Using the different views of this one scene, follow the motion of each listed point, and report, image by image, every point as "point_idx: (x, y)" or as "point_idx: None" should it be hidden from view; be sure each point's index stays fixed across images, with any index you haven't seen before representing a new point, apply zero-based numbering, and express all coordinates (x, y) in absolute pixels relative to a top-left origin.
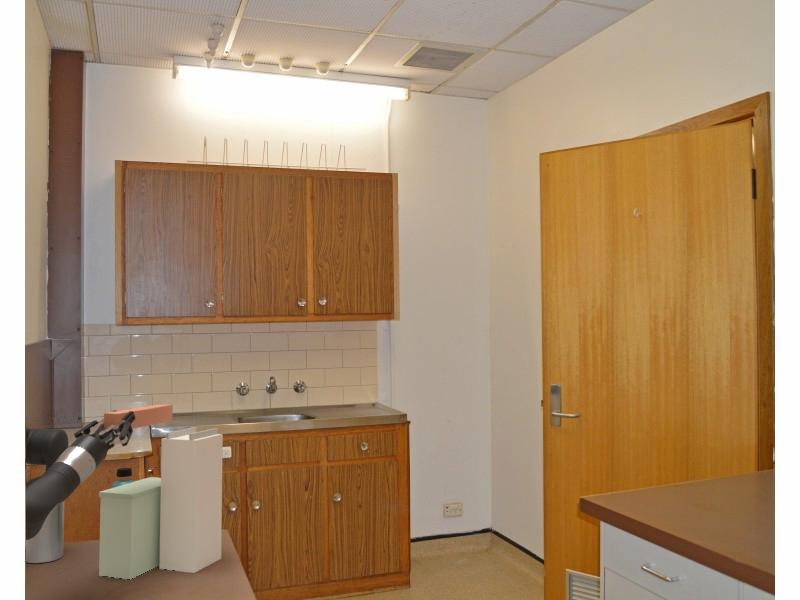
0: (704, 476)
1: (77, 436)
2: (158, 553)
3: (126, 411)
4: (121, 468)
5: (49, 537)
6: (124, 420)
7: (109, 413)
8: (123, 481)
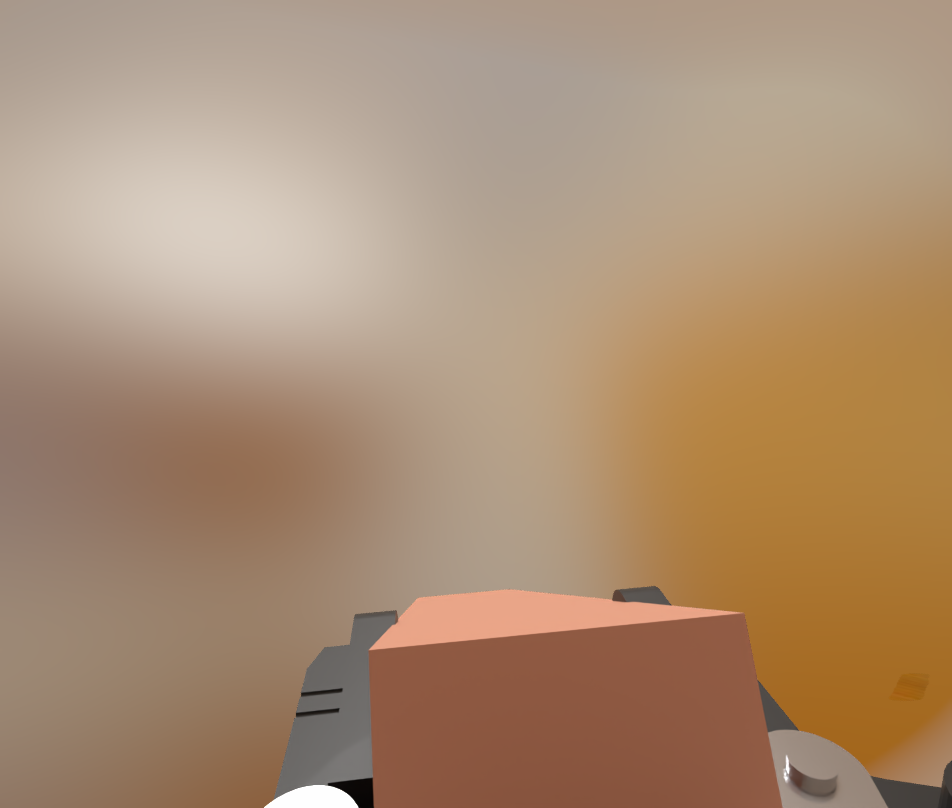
0: (920, 679)
1: None
2: None
3: (535, 607)
4: None
5: None
6: (825, 742)
7: (514, 634)
8: None
